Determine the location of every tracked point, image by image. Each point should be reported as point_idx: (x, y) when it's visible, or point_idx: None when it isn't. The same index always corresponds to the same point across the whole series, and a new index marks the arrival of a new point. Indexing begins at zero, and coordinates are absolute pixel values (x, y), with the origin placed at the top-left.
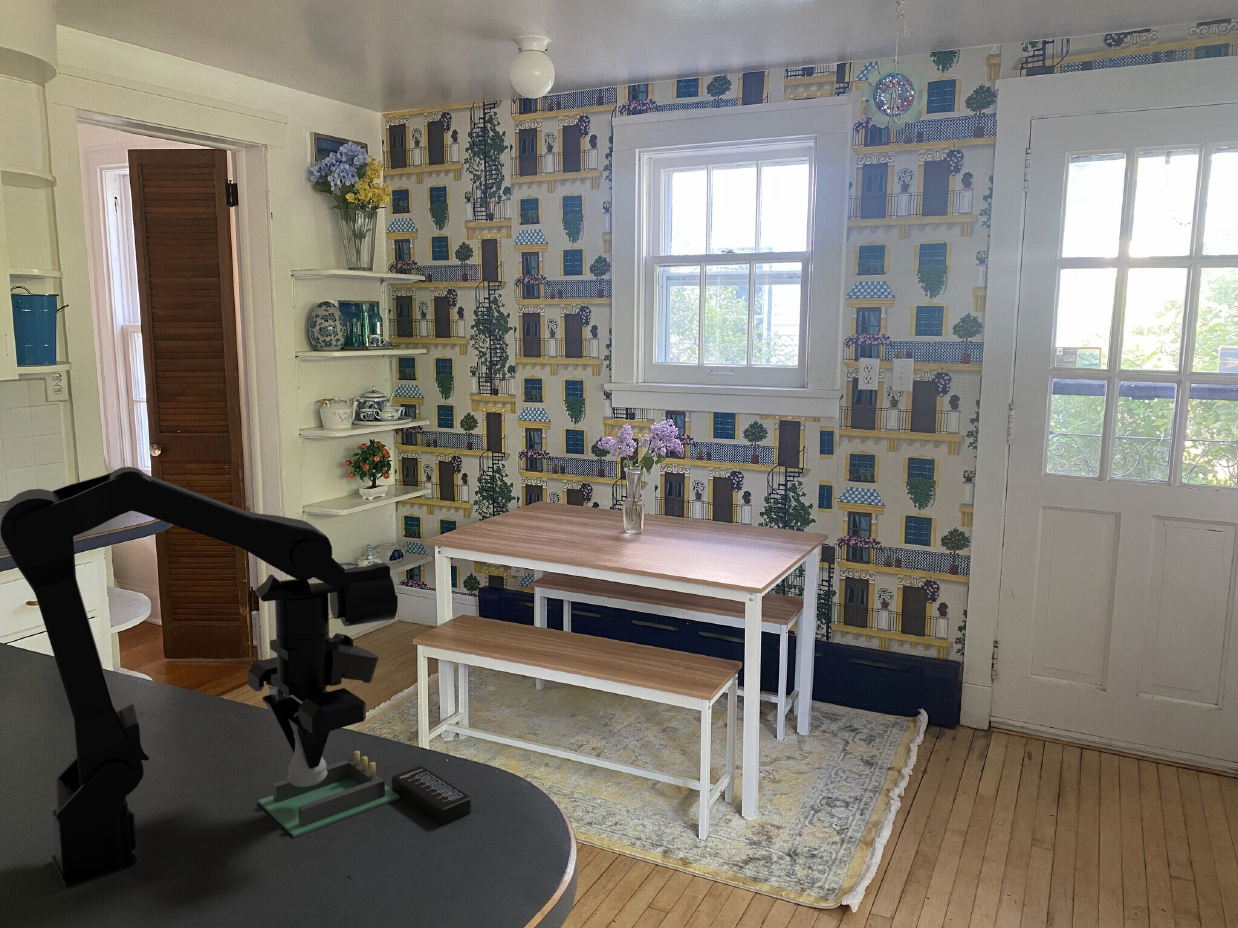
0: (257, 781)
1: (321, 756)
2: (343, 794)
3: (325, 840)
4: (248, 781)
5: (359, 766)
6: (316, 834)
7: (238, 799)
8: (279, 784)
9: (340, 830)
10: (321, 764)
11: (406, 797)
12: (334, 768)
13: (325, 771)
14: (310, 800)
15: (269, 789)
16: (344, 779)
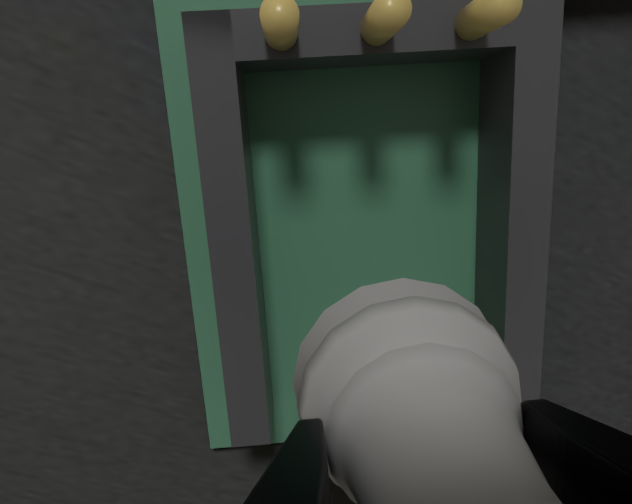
0: (29, 400)
1: (611, 428)
2: (541, 232)
3: (622, 340)
4: (10, 426)
5: (315, 33)
6: (564, 351)
7: (144, 488)
8: (259, 428)
9: (602, 275)
10: (497, 359)
11: None
12: (244, 157)
13: (441, 298)
14: (338, 295)
15: (128, 382)
16: (247, 103)
